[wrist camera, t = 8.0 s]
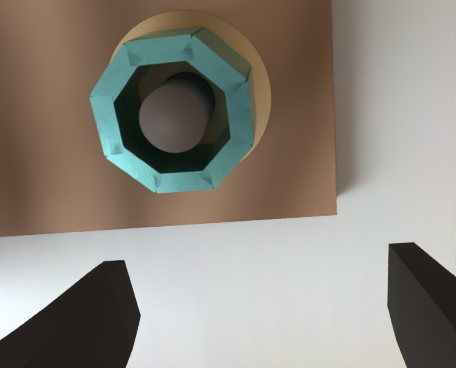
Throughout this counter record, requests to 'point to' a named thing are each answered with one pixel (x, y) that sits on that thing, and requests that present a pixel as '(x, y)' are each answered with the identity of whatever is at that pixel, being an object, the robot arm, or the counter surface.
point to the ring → (131, 104)
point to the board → (72, 141)
